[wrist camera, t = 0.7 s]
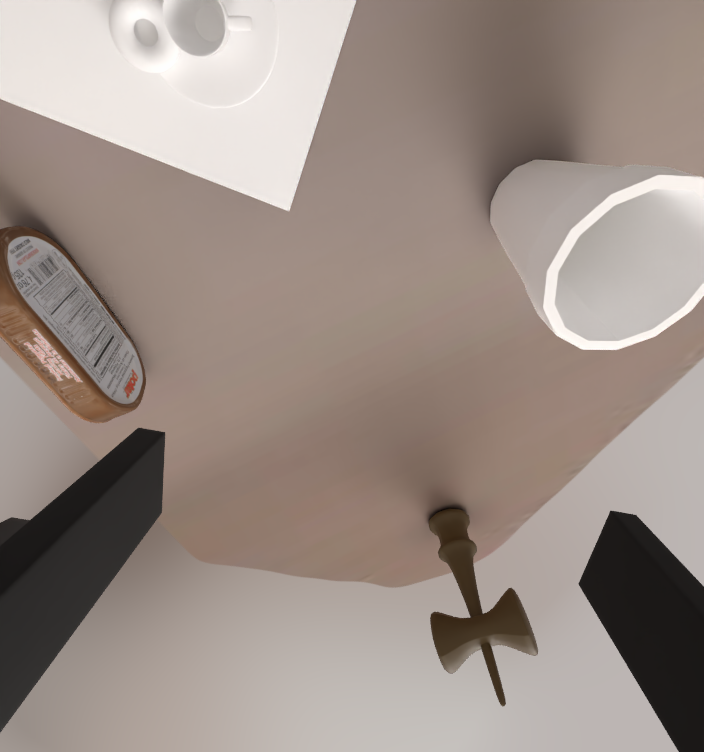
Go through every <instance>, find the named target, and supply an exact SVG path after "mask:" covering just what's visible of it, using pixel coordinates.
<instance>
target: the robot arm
mask: <svg viewBox="0 0 704 752" xmlns="http://www.w3.org/2000/svg"><path fill="white" fill-rule="evenodd" d="M164 447H165V432H160V431H154V430H148V429H143V428H138V429H136V430H135V431H134V432H133V433H132V434H131V435H129V436H128V437H127V438H126V439H125V440H124V441H122V442H121V443H120V444H119V445H118V446H117V447H115V448H114V449H113V450H112V451H111V452H110V453H108V454H107V455H106V456H105V457H104V458H103V459H101V460H100V461H99V462H98V463H97V464H95V465H94V466H93V467H92V468H91V469H90V470H88V471H87V472H86V473H85V474H84V475H83V476H81V477H80V478H79V479H78V480H77V481H76V482H75V483H73V484H72V485H71V486H70V487H69V488H67V489H66V490H65V491H64V492H63V493H62V494H60V495H59V496H58V497H57V498H56V499H55V500H53V501H52V502H51V503H50V504H49V505H48V506H46V507H45V508H44V509H43V510H42V511H41V512H39V513H38V514H37V515H36V516H35V517H33V518H32V519H31V520H24V519H18V518H9V519H7V520H5V521H3V522H1V523H0V732H1V731H2V729H3V728H4V727H5V725H6V724H7V723H8V721H9V720H10V719H11V717H12V716H13V715H14V713H15V712H16V710H17V709H18V708H19V706H20V705H21V704H22V702H23V701H24V700H25V698H26V697H27V695H28V694H29V693H30V691H31V690H32V688H33V687H34V686H35V685H36V683H37V682H38V680H39V679H40V678H41V676H42V675H43V674H44V672H45V671H46V670H47V668H48V667H49V666H50V664H51V663H52V661H53V660H54V659H55V657H56V656H57V654H58V653H59V652H60V651H61V649H62V648H63V646H64V645H65V644H66V642H67V641H68V640H69V638H70V637H71V636H72V634H73V633H74V631H75V630H76V629H77V627H78V626H79V625H80V623H81V622H82V620H83V619H84V618H85V616H86V615H87V614H88V612H89V611H90V610H91V608H92V607H93V606H94V604H95V603H96V601H97V600H98V599H99V597H100V596H101V595H102V593H103V592H104V591H105V589H106V588H107V587H108V585H109V584H110V582H111V581H112V580H113V578H114V577H115V576H116V574H117V573H118V572H119V570H120V569H121V567H122V566H123V565H124V563H125V562H126V561H127V559H128V558H129V556H130V555H131V554H132V552H133V551H134V550H135V548H136V547H137V545H138V544H139V543H140V541H141V540H142V539H143V537H144V536H145V535H146V533H147V532H148V531H149V529H150V528H151V527H152V525H153V524H154V522H155V521H156V520H157V518H158V517H159V516H160V514H161V513H162V494H163V470H164ZM579 586H580V587H581V589H582V591H583V592H584V594H585V596H586V597H587V599H588V600H589V602H590V604H591V606H592V607H593V609H594V611H595V612H596V614H597V616H598V617H599V619H600V621H601V623H602V624H603V626H604V627H605V629H606V631H607V632H608V634H609V636H610V638H611V639H612V641H613V642H614V644H615V646H616V648H617V649H618V651H619V653H620V654H621V656H622V657H623V659H624V661H625V662H626V664H627V666H628V668H629V669H630V671H631V673H632V674H633V676H634V678H635V679H636V681H637V682H638V684H639V686H640V688H641V689H642V691H643V693H644V694H645V696H646V697H647V699H648V701H649V703H650V704H651V706H652V708H653V709H654V711H655V713H656V714H657V716H658V718H659V719H660V721H661V723H662V725H663V726H664V728H665V730H666V731H667V733H668V735H669V736H670V738H671V740H672V741H673V743H674V744H675V746H676V748H677V750H678V751H679V752H704V586H702V584H701V583H700V582H699V581H698V580H697V579H696V578H695V577H694V576H693V575H692V574H691V573H690V572H689V571H688V570H687V568H686V567H685V566H684V565H683V564H682V563H681V562H680V561H679V560H678V559H677V558H676V557H675V556H674V555H673V554H672V553H671V552H670V551H669V549H668V548H667V547H666V546H665V545H664V544H663V543H662V542H661V541H660V540H659V539H658V538H657V537H656V536H655V535H654V534H653V533H652V531H651V530H650V529H649V528H648V527H647V526H646V525H645V524H644V523H643V522H642V521H641V520H640V519H639V518H638V517H637V516H636V515H633V514H627V513H621V512H616V511H610V513H609V516H608V518H607V520H606V522H605V525H604V527H603V529H602V532H601V534H600V536H599V539H598V541H597V543H596V545H595V548H594V550H593V552H592V554H591V557H590V559H589V561H588V564H587V566H586V568H585V570H584V573H583V575H582V577H581V580H580V582H579Z"/></svg>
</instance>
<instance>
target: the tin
mask: <svg viewBox="0 0 704 752" xmlns="http://www.w3.org/2000/svg"><path fill="white" fill-rule="evenodd" d="M0 337H1V338H2V339H3V340H4V341H5V342H6V343H7V344H8V346H9V347H10V348H11V349H12V350H13V351H14V352H15V353H16V354H17V355H18V356H19V357H20V358H21V359H22V360H23V361H24V363H25V364H26V365H27V366H28V367H29V368H30V369H31V370H32V371H33V372H34V373H35V374H36V375H37V376H38V377H39V378H40V379H41V381H42V382H43V383H44V384H45V385H46V386H47V387H48V388H49V389H50V390H51V391H52V393H53V394H54V395H55V396H56V397H57V398H58V399H59V400H60V401H61V402H62V403H63V404H64V405H65V406H66V408H67V409H69V410H70V411H71V412H72V413H73V414H75V415H76V416H78V417H80V418H81V419H83V420H86V421H89V422H93V423H104V422H108V421H110V420H111V419H113V418H115V417H118V416H121V415H124V414H126V413H129V412H131V411H133V410H135V409H136V408H137V407H138V405H139V404H140V402H141V400H142V397H143V393H144V389H145V385H146V377H145V371H144V367H143V364H142V360H141V358H140V355H139V353H138V351H137V349H136V347H135V345H134V344H133V342H132V340H131V339H130V337H129V336H128V335H127V333H126V332H125V330H124V329H123V328H122V326H121V325H120V324H119V322H118V321H117V319H116V318H115V317H114V315H113V314H112V312H111V311H110V310H109V308H108V307H107V306H106V304H105V303H104V301H103V300H102V299H101V297H100V296H99V295H98V293H97V292H96V290H95V289H94V288H93V286H92V285H91V284H90V282H89V281H88V280H87V278H86V277H85V275H84V274H83V273H82V271H81V270H80V269H79V267H78V266H77V265H76V263H75V262H74V261H73V260H72V258H71V257H70V256H69V255H68V254H67V253H66V252H65V250H64V249H62V248H61V247H60V246H59V245H58V244H57V243H56V242H54V241H53V240H52V239H51V238H49V237H48V236H46V235H44V234H43V233H41V232H39V231H37V230H34V229H31V228H28V227H22V226H15V227H7V228H3V229H0Z"/></svg>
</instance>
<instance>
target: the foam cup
mask: <svg viewBox="0 0 704 752" xmlns="http://www.w3.org/2000/svg"><path fill="white" fill-rule="evenodd" d="M490 223H491V225H492V227H493V229H494V231H495V233H496V235H497V237H498V239H499V241H500V243H501V244H502V246H503V248H504V250H505V251H506V253H507V255H508V257H509V258H510V260H511V262H512V264H513V265H514V267H515V269H516V270H517V272H518V274H519V276H520V277H521V279H522V281H523V283H524V284H525V286H526V288H525V289H526V292H527V294H528V296H529V298H530V300H531V302H532V304H533V306H534V308H535V310H536V312H537V314H538V316H539V317H540V318H541V319H542V320H543V321H544V322H545V323H546V324H547V326H548V327H549V328H550V329H551V330H552V331H553V332H554V333H555V335H557V336H558V337H560V338H562V339H564V340H566V341H568V342H569V343H571V344H573V345H575V346H577V347H579V348H580V349H584V350H618V349H621V348H623V347H626V346H629V345H632V344H635V343H638V342H641V341H643V340H646V339H649V338H652V337H655V336H656V335H658V334H659V333H660V332H662V331H663V330H665V329H666V328H668V327H669V326H670V325H672V324H673V323H675V322H676V321H678V320H679V319H680V318H682V317H683V316H685V315H686V314H687V313H689V312H690V311H691V310H692V309H693V308H694V307H695V305H696V304H697V303H698V302H699V301H700V299H701V298H702V297H703V296H704V178H703V177H700V176H697V175H694V174H690V173H687V172H684V171H680V170H677V169H673V168H670V167H662V166H644V165H626V166H624V167H618V166H608V165H598V164H587V163H577V162H566V161H554V160H532V161H530V162H528V163H525V164H523V165H521V166H519V167H516V168H515V169H514V170H513V171H512V172H511V173H510V174H509V175H508V176H507V177H506V178H505V179H504V180H503V181H502V182H501V183H500V184H499V186H498V188H497V190H496V192H495V195H494V197H493V199H492V201H491V207H490Z"/></svg>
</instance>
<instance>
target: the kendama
mask: <svg viewBox="0 0 704 752" xmlns="http://www.w3.org/2000/svg"><path fill="white" fill-rule="evenodd" d="M469 523H470V521H469V516H468V515H467V514H466V512H464V511H462V510H460V509H447V510H443V511H441V512H438V513H436V514H435V515H434V516H433V517H432V518H431V519H430V521H429V528H430V530H431V531H432V532H433V533H434V534H435V535H437V536H438V537H439V539H440V543H441V547H440V549H439V551H438V554H439V558H440V559H441V560H442V561H444V562H446V563H448V565H449V566H450V568H451V570H452V572H453V574H454V576H455V578H456V581H457V583H458V586H459V588H460V590H461V593H462V595H463V598H464V600H465V603H466V605H467V608H468V611H469V614H470V616H471V617H470V618H457V617H453V616H450V615H446V614H443V613H439V612H433V613H432V614H431V618H430V619H431V620H430V621H431V630H432V635H433V640H434V644H435V647H436V650H437V653H438V656H439V659H440V661H441V663H442V665H443V667H444V669H445V670H446V671H447V672H448V673H450V674H453V673H454V672H456V671H457V670H458V668H459V667H460V666H461V665H462V664H463V663H464V661H465V660H466V659H467V658H468V657H469V656H470V655H471V654H473V653H474V652H476V651H478V650H480V649H482V652H483V655H484V658H485V661H486V664H487V667H488V671H489V673H490V677H491V680H492V683H493V686H494V689H495V691H496V695H497V697H498V700H499V702H500V704H501V705H502V706H505V704H506V702H505V696H504V692H503V689H502V684H501V680H500V677H499V673H498V670H497V666H496V662H495V659H494V655H493V651H492V648H491V646H495V645H504V646H508V647H511V648H514V649H517V650H519V651H522V652H524V653H527V654H529V655H533V656H536V655H537V654H538V648H537V644H536V640H535V637H534V634H533V631H532V628H531V626H530V623H529V620H528V618H527V615H526V613H525V610H524V608H523V606H522V604H521V601H520V599H519V597H518V595H517V594H516V592H515V591H514V590H513V589H512V588H509V589H508V590H507V591H506V592H505V593H504V594H503V596H502V597H501V598H500V600H499V601H498V602H497V604H496V605H495V606H494V608H493V609H491V610H490V611H489V612H487V613H484V614H483V613H482V609H481V605H480V600H479V595H478V590H477V585H476V579H475V573H474V567H473V556H474V555H475V553H476V552H477V547H476V545H475V543H474V542H473V541H472V540H470V539H469V537H468V533H467V528H468V526H469Z"/></svg>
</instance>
